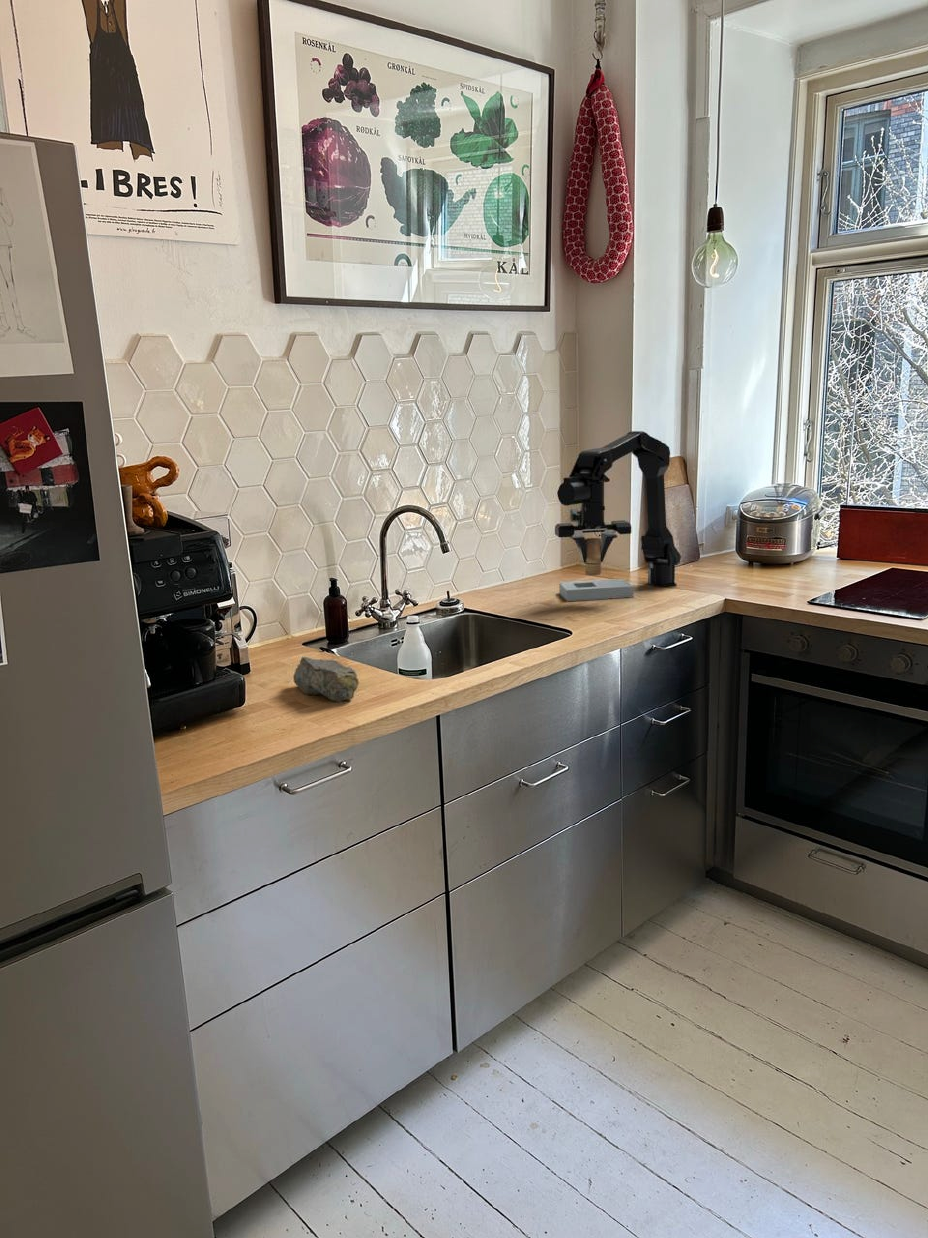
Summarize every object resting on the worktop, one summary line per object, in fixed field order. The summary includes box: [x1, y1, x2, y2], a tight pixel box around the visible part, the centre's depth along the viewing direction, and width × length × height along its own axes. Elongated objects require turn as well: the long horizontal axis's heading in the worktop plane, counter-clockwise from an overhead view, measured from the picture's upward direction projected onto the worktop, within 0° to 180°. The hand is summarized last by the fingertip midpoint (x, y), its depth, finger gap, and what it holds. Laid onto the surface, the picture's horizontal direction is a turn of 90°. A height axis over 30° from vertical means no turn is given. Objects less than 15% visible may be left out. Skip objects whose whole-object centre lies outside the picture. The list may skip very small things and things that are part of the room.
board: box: [558, 578, 634, 602], centre depth 241 cm, size 18×10×3 cm, turn 95°
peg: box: [584, 537, 602, 576], centre depth 228 cm, size 4×4×9 cm
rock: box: [293, 656, 360, 703], centre depth 170 cm, size 17×7×10 cm
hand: (592, 562), depth 228 cm, fingers closed on peg, 4 cm apart
